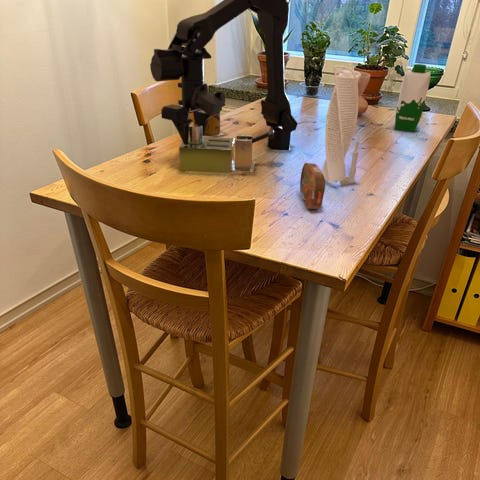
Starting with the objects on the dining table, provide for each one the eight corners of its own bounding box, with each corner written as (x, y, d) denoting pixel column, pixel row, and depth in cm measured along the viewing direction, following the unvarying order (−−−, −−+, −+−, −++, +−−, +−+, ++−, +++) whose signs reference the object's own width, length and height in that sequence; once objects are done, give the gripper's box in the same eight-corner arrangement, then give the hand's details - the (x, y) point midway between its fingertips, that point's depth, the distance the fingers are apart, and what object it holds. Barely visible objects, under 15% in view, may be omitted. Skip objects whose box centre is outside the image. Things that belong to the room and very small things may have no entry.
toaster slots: (230, 140, 129) (230, 140, 129) (228, 146, 124) (228, 146, 124) (209, 139, 129) (208, 139, 129) (206, 145, 125) (206, 145, 125)
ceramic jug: (335, 106, 190) (340, 67, 181) (370, 111, 185) (377, 71, 176) (322, 117, 177) (327, 75, 168) (360, 122, 172) (367, 80, 163)
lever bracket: (254, 165, 134) (255, 133, 128) (253, 175, 127) (254, 142, 122) (234, 164, 134) (234, 132, 129) (231, 174, 128) (231, 141, 122)
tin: (298, 190, 120) (301, 157, 115) (310, 189, 120) (314, 157, 115) (310, 215, 108) (314, 180, 103) (323, 215, 108) (328, 180, 103)
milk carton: (419, 127, 169) (434, 65, 156) (416, 133, 162) (432, 69, 150) (394, 124, 171) (407, 63, 159) (391, 130, 165) (404, 67, 152)
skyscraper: (328, 188, 121) (345, 68, 104) (312, 177, 127) (326, 62, 110) (355, 183, 124) (376, 66, 107) (338, 173, 130) (355, 60, 113)
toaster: (234, 163, 135) (234, 137, 130) (231, 175, 127) (231, 149, 123) (184, 160, 136) (182, 135, 131) (177, 172, 128) (176, 146, 123)
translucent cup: (184, 140, 128) (183, 122, 125) (199, 138, 129) (198, 120, 126) (190, 145, 125) (189, 126, 122) (205, 143, 126) (205, 124, 123)
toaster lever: (275, 133, 127) (272, 124, 126) (274, 140, 122) (271, 131, 121) (241, 146, 130) (238, 138, 129) (240, 153, 125) (236, 145, 124)
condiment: (225, 135, 156) (225, 96, 149) (203, 138, 152) (202, 99, 145) (214, 129, 161) (213, 91, 154) (192, 133, 157) (191, 94, 150)
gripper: (193, 88, 108) (194, 156, 117) (239, 79, 120) (236, 141, 129) (158, 81, 112) (161, 147, 122) (205, 73, 125) (205, 133, 134)
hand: (193, 142), depth 127 cm, fingers open, 6 cm apart
